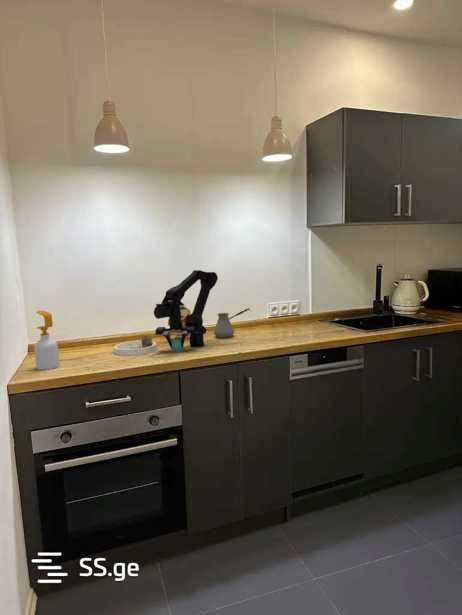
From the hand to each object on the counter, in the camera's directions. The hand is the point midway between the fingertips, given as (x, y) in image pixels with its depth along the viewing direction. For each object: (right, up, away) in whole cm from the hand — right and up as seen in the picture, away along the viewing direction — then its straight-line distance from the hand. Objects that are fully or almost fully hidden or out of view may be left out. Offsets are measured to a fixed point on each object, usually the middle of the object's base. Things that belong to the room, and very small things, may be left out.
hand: (176, 347), depth 194 cm
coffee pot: (+27, +3, +30) cm, 40 cm away
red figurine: (+1, +2, +26) cm, 26 cm away
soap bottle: (-53, -7, -20) cm, 57 cm away
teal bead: (0, -2, 0) cm, 2 cm away
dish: (-21, -2, +4) cm, 21 cm away
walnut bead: (-15, -1, +4) cm, 16 cm away
